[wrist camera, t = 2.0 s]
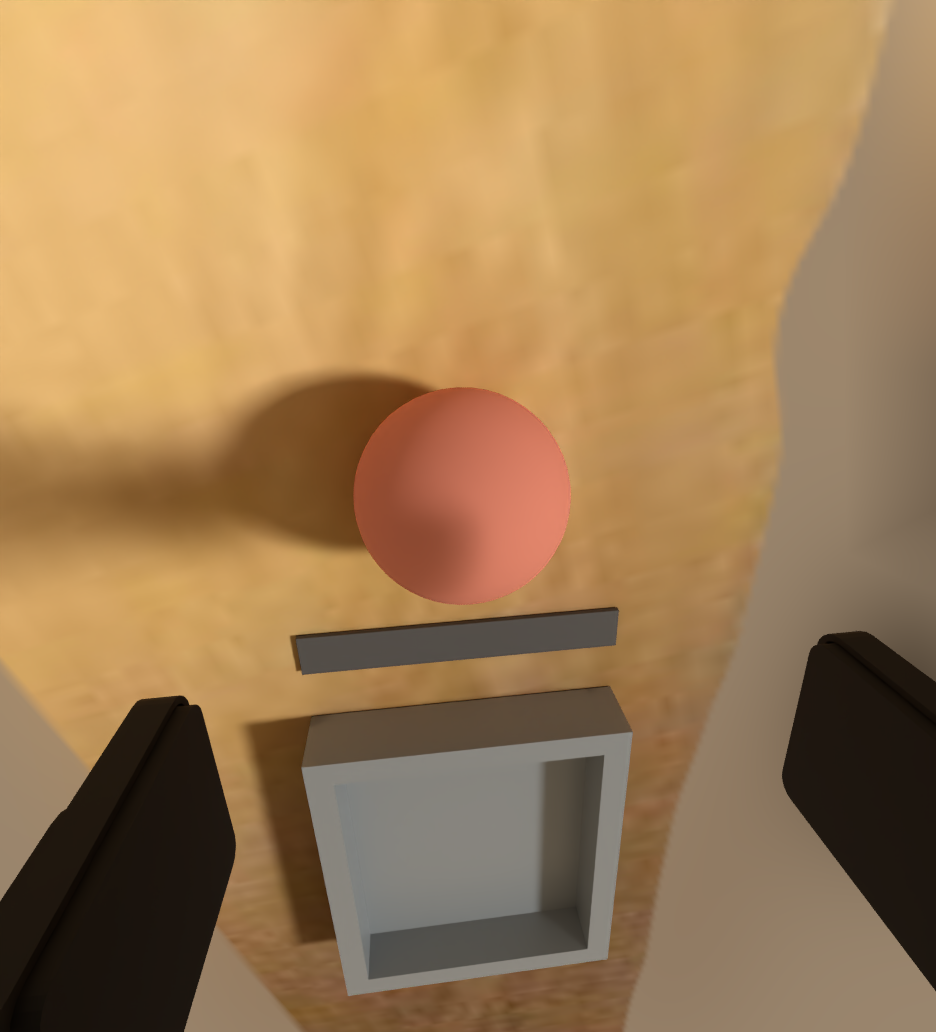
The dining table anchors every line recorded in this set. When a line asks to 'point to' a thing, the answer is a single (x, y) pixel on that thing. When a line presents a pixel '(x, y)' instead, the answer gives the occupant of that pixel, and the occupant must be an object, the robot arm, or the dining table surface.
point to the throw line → (456, 640)
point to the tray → (469, 834)
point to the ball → (462, 496)
